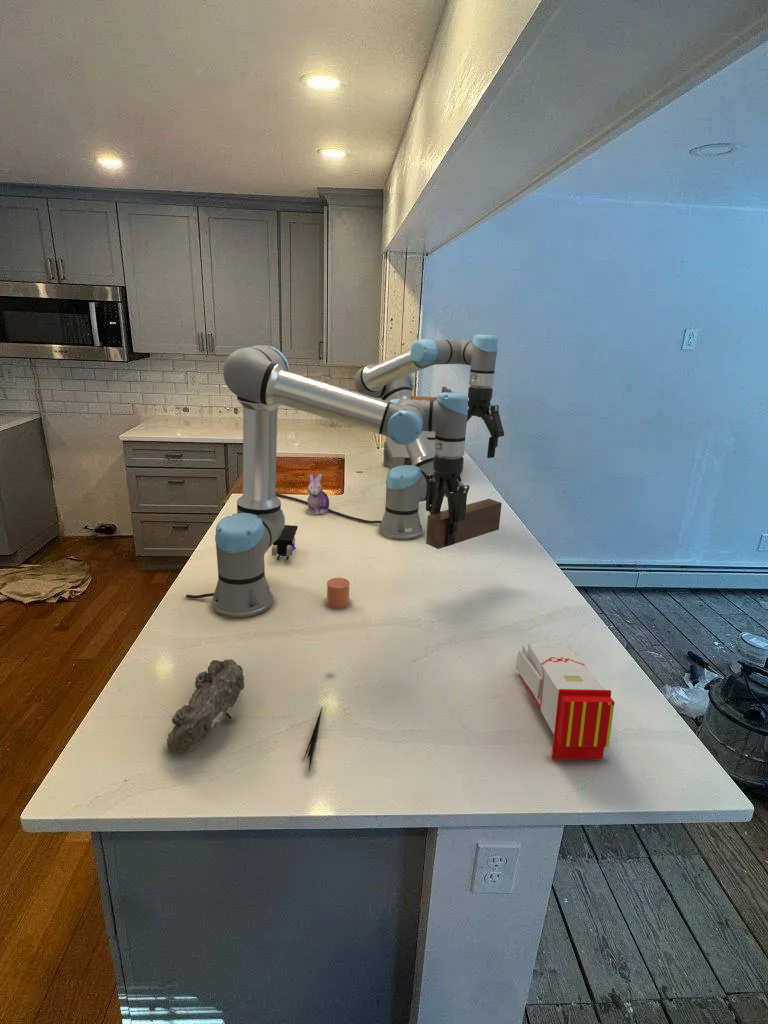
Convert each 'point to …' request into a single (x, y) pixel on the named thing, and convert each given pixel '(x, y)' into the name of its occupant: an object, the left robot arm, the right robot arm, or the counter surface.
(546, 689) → the toy
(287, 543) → the figurine character
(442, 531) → the beam
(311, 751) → the feather
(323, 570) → the counter surface
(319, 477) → the figurine
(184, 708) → the fossil
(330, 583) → the orange clay cylinder
